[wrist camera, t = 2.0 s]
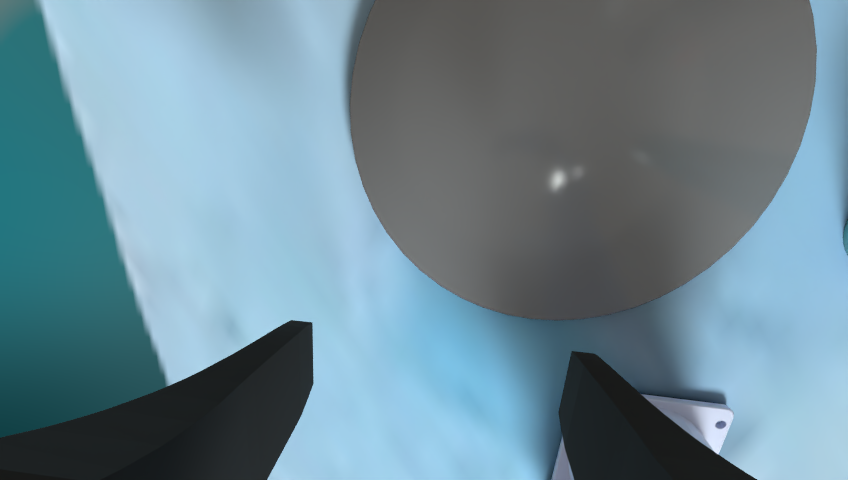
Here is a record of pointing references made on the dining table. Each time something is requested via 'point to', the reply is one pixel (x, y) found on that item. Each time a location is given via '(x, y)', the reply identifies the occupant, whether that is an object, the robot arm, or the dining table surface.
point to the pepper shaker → (846, 237)
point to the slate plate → (577, 140)
